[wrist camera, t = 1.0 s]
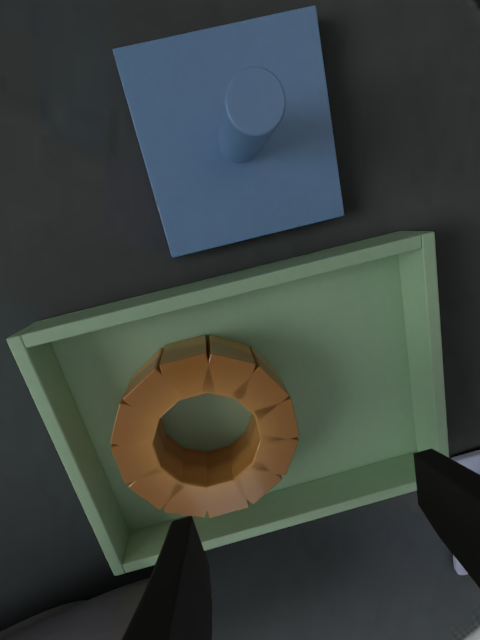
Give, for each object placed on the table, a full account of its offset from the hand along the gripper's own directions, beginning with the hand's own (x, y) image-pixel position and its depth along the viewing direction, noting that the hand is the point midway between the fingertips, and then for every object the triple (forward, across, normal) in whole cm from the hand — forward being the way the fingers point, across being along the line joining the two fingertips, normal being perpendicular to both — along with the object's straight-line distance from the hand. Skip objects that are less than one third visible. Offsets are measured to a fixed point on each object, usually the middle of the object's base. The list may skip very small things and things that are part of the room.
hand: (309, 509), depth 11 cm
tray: (+8, +1, 0) cm, 8 cm away
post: (+8, -1, -12) cm, 15 cm away
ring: (+8, +3, 0) cm, 8 cm away
